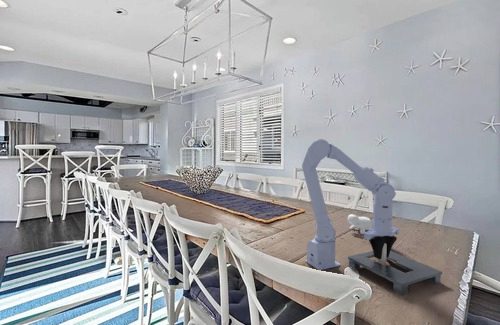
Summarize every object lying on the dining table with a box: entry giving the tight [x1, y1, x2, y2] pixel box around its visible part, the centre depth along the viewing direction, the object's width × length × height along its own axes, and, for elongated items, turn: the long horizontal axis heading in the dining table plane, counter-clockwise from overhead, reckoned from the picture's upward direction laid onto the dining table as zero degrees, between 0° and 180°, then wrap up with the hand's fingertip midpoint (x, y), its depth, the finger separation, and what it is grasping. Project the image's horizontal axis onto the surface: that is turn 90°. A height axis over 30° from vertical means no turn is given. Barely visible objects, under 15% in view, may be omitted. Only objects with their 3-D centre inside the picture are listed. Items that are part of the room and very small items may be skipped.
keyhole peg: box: [374, 243, 391, 266], centre depth 88 cm, size 5×5×8 cm
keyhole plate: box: [347, 250, 443, 296], centre depth 84 cm, size 18×20×3 cm
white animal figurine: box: [346, 213, 372, 235], centre depth 129 cm, size 9×8×15 cm
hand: (381, 257), depth 88 cm, fingers closed on keyhole peg, 3 cm apart
